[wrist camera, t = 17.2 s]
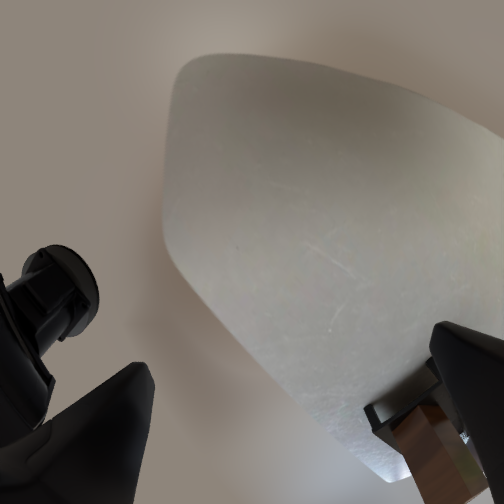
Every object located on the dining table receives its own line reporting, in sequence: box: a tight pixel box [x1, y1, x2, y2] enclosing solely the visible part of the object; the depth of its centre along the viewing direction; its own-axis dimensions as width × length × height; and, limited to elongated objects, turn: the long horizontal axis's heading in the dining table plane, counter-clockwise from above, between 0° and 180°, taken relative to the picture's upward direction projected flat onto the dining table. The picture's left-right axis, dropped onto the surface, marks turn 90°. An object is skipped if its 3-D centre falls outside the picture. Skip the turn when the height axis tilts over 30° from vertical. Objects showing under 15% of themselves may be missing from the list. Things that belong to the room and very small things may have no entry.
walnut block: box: [392, 405, 489, 504], centre depth 15 cm, size 5×5×14 cm
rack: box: [364, 357, 469, 454], centre depth 25 cm, size 10×22×6 cm, turn 40°
